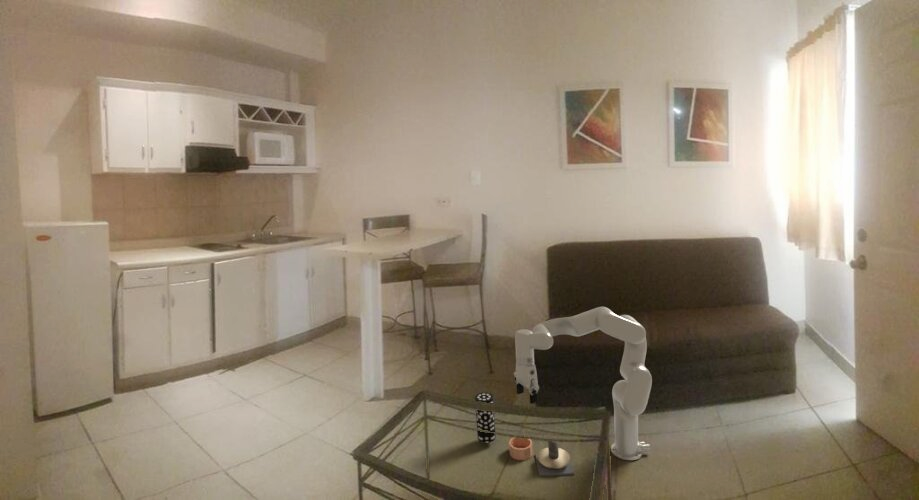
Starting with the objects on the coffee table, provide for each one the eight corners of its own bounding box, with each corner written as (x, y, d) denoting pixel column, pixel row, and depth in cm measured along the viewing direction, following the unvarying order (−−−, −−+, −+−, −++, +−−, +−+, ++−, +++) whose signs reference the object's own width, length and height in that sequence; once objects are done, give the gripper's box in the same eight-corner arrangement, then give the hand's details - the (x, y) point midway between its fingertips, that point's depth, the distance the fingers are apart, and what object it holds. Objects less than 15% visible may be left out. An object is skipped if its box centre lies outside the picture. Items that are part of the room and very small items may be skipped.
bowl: (531, 446, 201) (530, 435, 200) (533, 459, 191) (533, 449, 190) (509, 446, 201) (508, 436, 200) (510, 460, 191) (509, 449, 191)
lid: (566, 448, 192) (565, 431, 191) (572, 467, 180) (571, 449, 178) (536, 449, 193) (535, 432, 192) (540, 468, 180) (539, 450, 179)
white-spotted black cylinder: (496, 442, 201) (493, 400, 198) (477, 443, 201) (475, 401, 198) (495, 432, 209) (492, 392, 206) (477, 432, 209) (474, 393, 206)
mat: (567, 453, 193) (567, 452, 193) (574, 474, 179) (574, 473, 179) (535, 454, 194) (535, 453, 194) (539, 475, 180) (539, 474, 180)
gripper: (544, 364, 179) (546, 404, 182) (521, 351, 195) (522, 387, 197) (529, 368, 176) (531, 409, 179) (506, 354, 192) (508, 392, 194)
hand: (526, 397), depth 188 cm, fingers open, 9 cm apart
